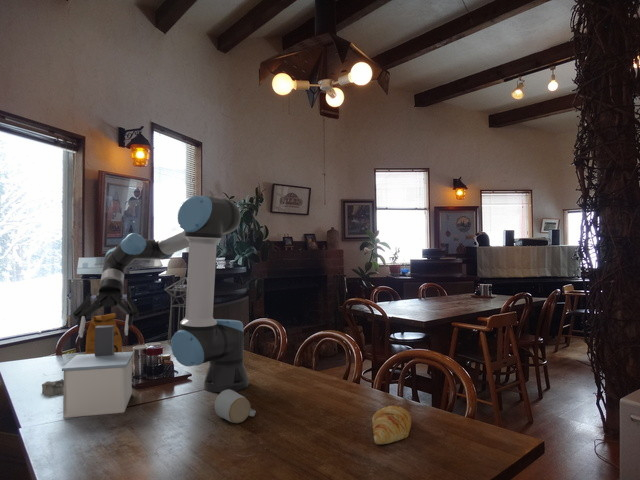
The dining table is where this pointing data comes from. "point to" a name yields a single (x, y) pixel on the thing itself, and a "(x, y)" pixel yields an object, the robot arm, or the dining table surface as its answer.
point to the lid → (100, 353)
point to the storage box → (97, 391)
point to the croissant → (391, 424)
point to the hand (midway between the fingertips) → (103, 334)
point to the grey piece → (53, 387)
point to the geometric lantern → (178, 302)
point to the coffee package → (102, 321)
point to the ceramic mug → (233, 406)
